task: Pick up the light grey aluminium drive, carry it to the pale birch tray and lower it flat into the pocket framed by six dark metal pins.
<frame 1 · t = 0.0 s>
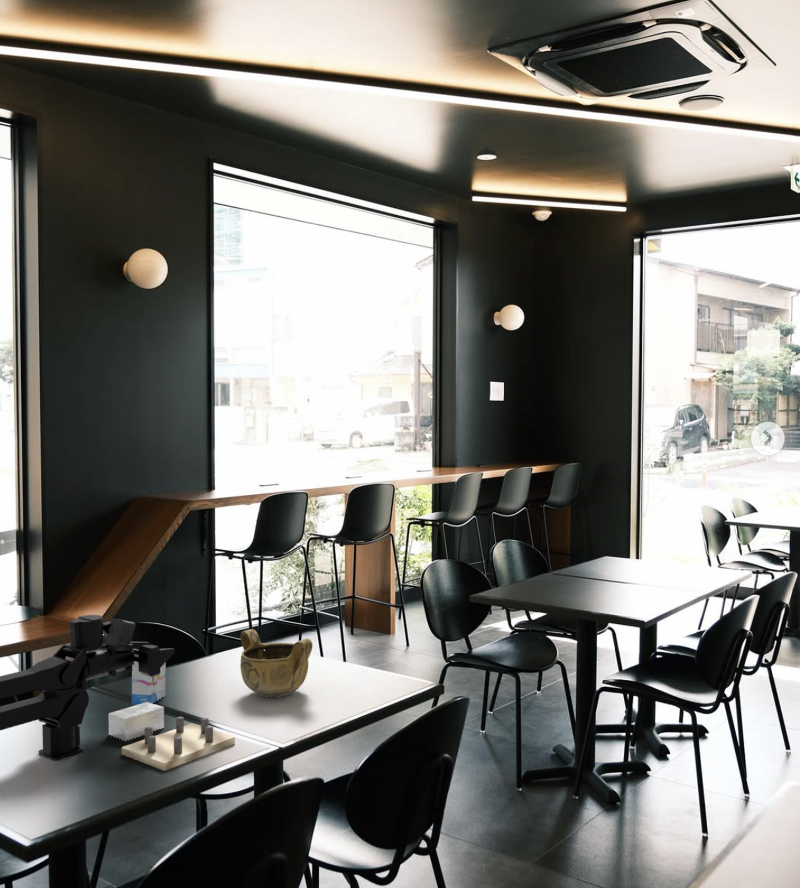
hand: (161, 647, 204), 17 cm above the table, tool horizontal, fingers open, 9 cm apart
ceramic bowl: (275, 695, 223), on the table
pin tray: (179, 749, 186), on the table
drive: (136, 732, 197), on the table
ink box: (149, 701, 219), on the table
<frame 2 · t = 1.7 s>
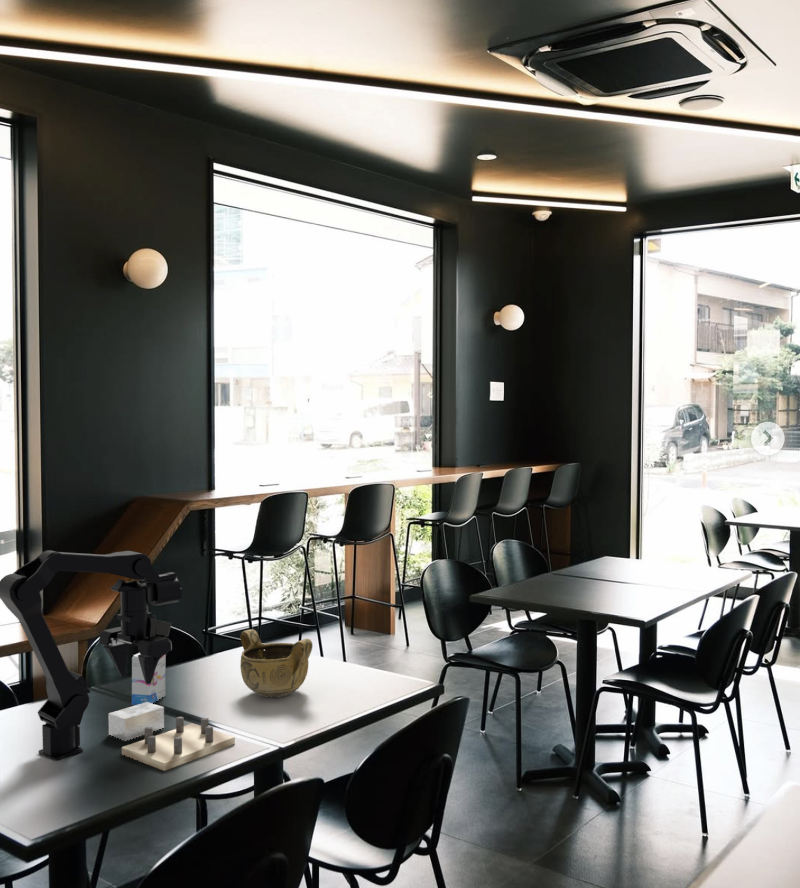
hand: (135, 679, 196), 11 cm above the table, tool pointing down, fingers open, 9 cm apart
nothing on the table moved.
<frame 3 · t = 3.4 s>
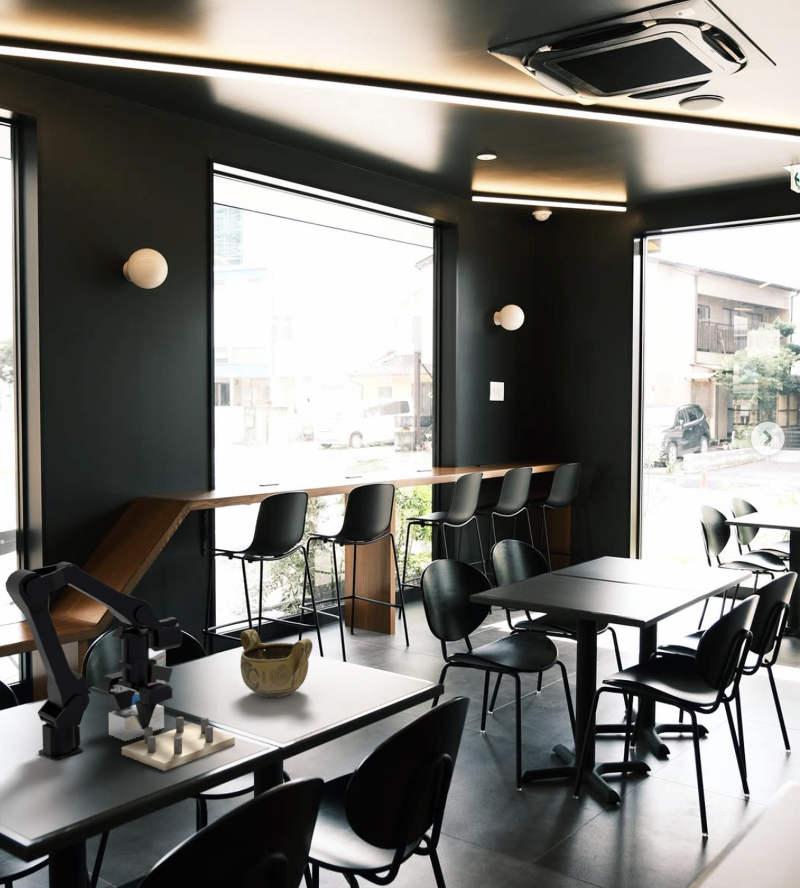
hand: (136, 726, 197), 1 cm above the table, tool pointing down, fingers closed on drive, 6 cm apart
drive: (136, 732, 197), on the table, touching gripper
everything else where it was.
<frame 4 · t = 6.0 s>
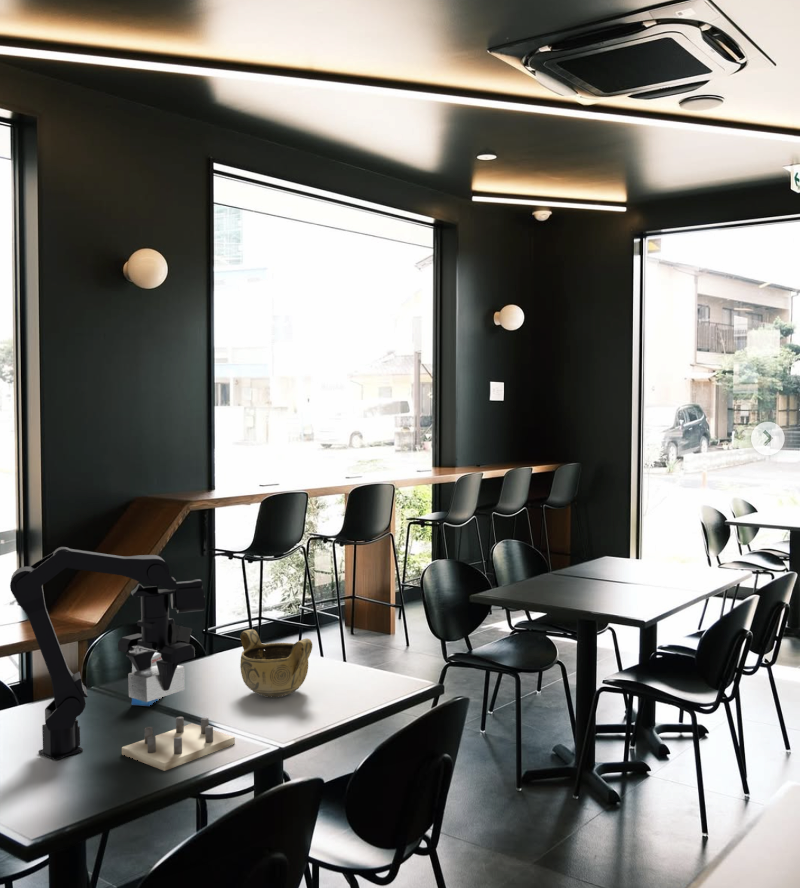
hand: (156, 687, 192), 11 cm above the table, tool pointing down, fingers closed on drive, 6 cm apart
drive: (157, 693, 192), point 10 cm above the table, touching gripper
everything else where it was.
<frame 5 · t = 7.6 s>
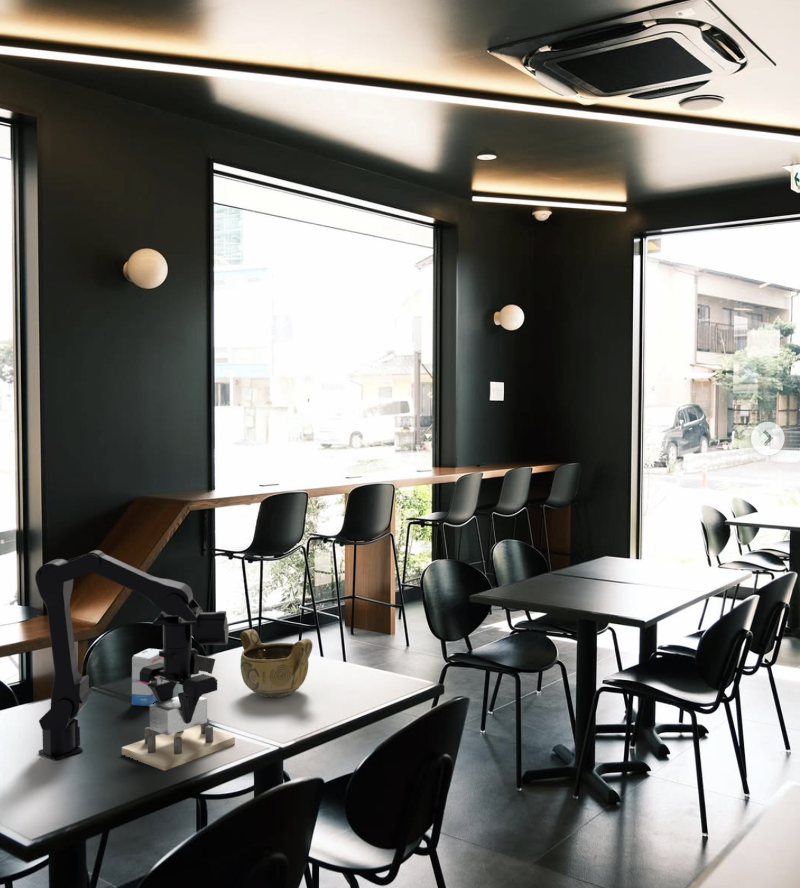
hand: (178, 719, 186), 6 cm above the table, tool pointing down, fingers closed on drive, 6 cm apart
drive: (178, 725, 186), point 5 cm above the table, touching gripper
everything else where it was.
when the fingers open (5 cm above the table, at t = 8.8 s): drive drops 2 cm, resting on pin tray.
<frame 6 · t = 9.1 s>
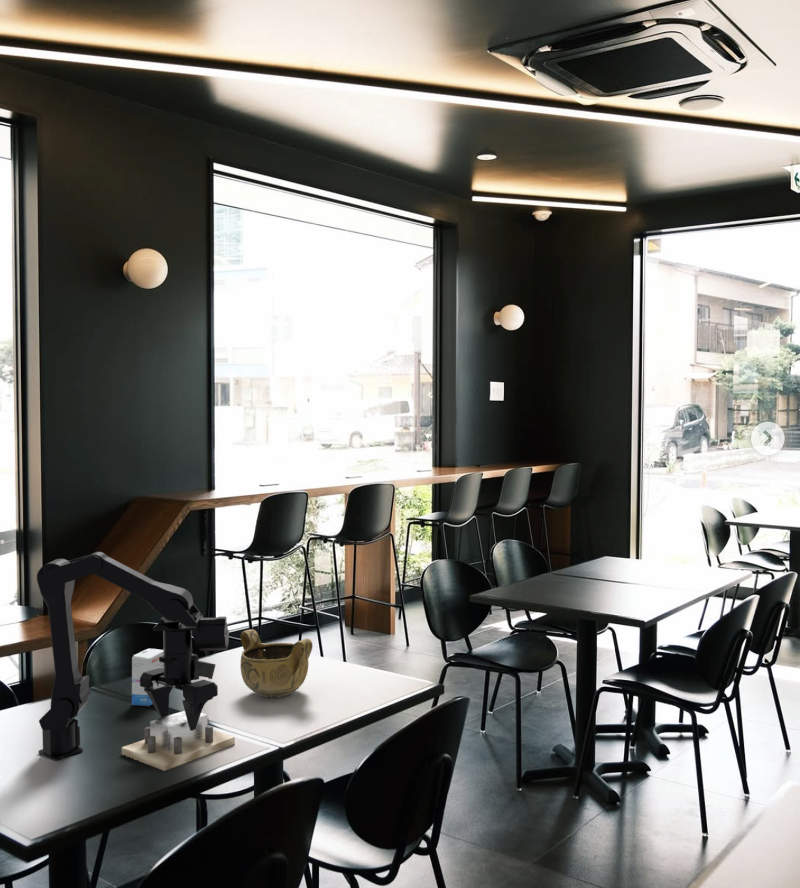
hand: (178, 725, 186), 5 cm above the table, tool pointing down, fingers open, 9 cm apart
drive: (179, 741, 186), point 1 cm above the table, touching pin tray
everything else where it was.
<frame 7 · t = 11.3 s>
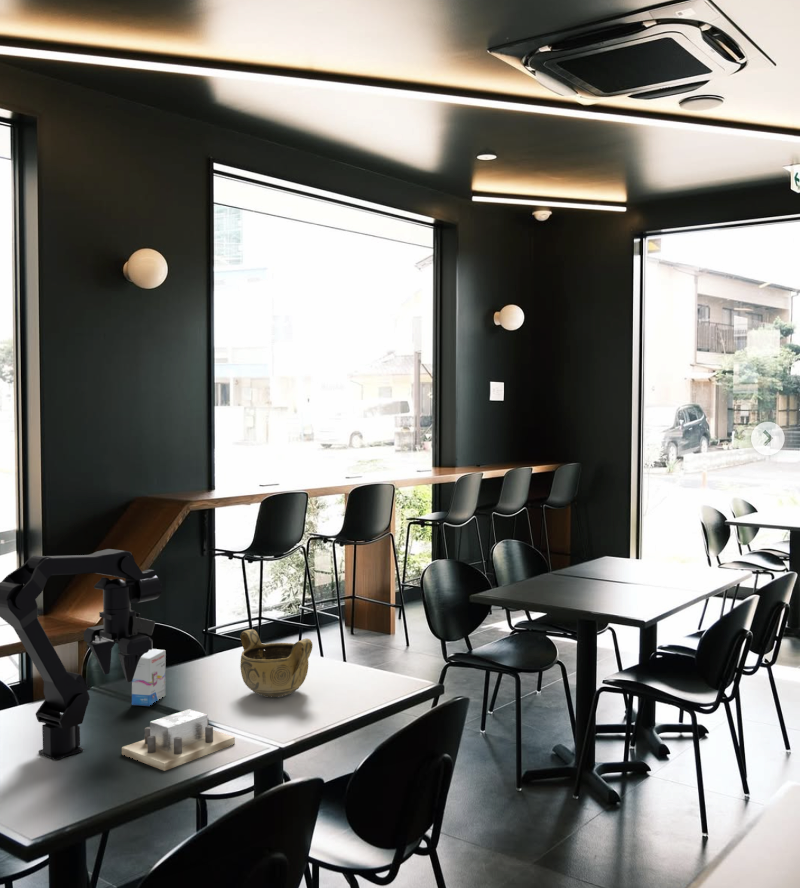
hand: (118, 677, 196), 12 cm above the table, tool pointing down, fingers open, 9 cm apart
nothing on the table moved.
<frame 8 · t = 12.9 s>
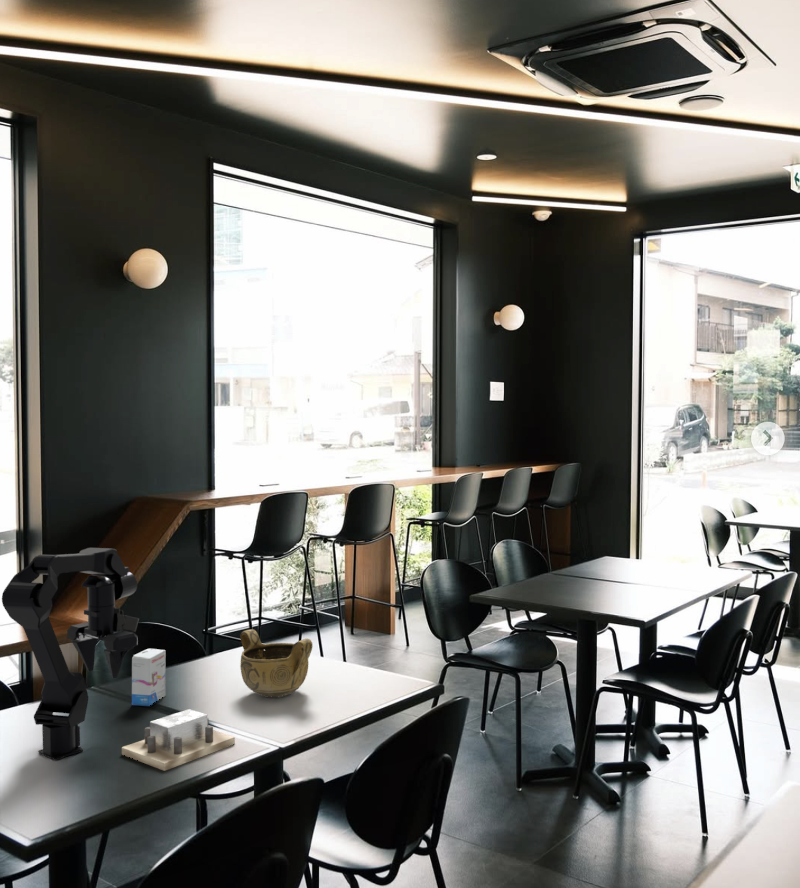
hand: (102, 674, 199), 12 cm above the table, tool pointing down, fingers open, 9 cm apart
nothing on the table moved.
at the end: drive 0.1 cm off-centre on the pin tray, point 1.5 cm above the pin tray's base; drive tilted 0°; the gripper is holding nothing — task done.
